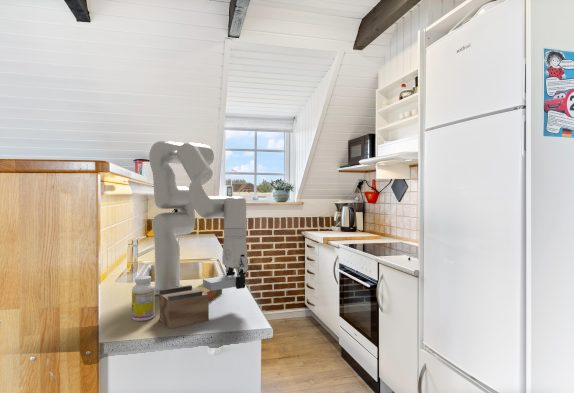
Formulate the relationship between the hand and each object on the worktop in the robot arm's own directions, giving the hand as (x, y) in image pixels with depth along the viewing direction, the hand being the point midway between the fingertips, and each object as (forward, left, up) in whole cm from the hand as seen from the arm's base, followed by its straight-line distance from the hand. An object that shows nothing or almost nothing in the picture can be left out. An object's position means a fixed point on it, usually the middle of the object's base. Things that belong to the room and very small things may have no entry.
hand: (235, 285), depth 120 cm
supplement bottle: (-9, -28, -8) cm, 30 cm away
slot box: (0, -18, -8) cm, 19 cm away
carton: (-18, -4, -9) cm, 21 cm away
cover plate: (0, -4, +1) cm, 4 cm away
